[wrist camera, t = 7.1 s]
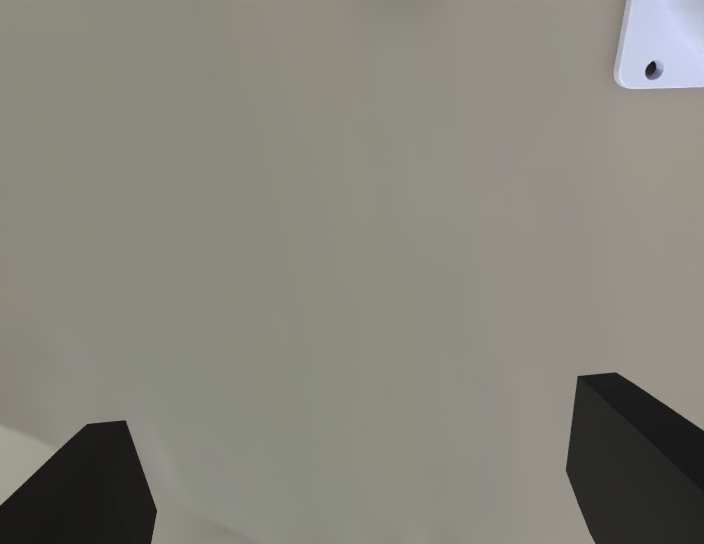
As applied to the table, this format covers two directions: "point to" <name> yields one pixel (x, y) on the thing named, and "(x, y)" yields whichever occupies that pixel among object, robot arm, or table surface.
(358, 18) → the table surface
